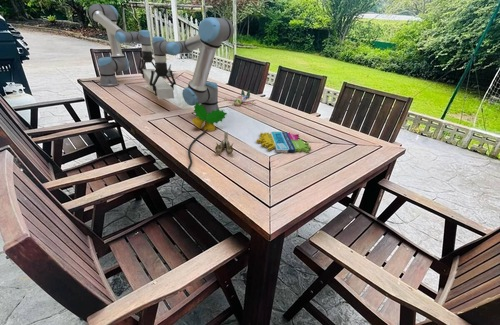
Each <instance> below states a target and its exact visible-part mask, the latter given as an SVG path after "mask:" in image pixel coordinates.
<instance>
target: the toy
mask: <svg viewBox="0 0 500 325" xmlns="http://www.w3.org/2000/svg"><path fill="white" fill-rule="evenodd" d="M240 92H241V93H240V95H238V96H237V97H235V99H233V98H230V99H228V98H227V97H226V96H225V97H224V98H223V101H224V102H233V103H232V104H233V105H235V106H242V103H243V104H247V105H252V106H255V105H256V104H257V103H256V102H254V101H253V100H252V101H251V102H250V101H248V100H246V99H248V98H250V97H251V90H250V89H249V90H248V91H247V92H246V93H245V91H244V89H242V90H241V91H240Z"/></svg>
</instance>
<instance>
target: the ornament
mask: <svg viewBox="0 0 500 325" xmlns="http://www.w3.org/2000/svg"><path fill="white" fill-rule="evenodd" d="M219 110H220V108H219V109H217V110H216V111H214V110H212V112H211V113H208V112H206V109H204V106H201V104H198V103H197V102H196V105H194V106H193V112H194V113H195V118H192V119H191V122H192V123H193V125H195V127H197V128H198V129H202V130H203V131H205V130H207V131H206V132H212V131H213V132H214V131H215V130H216V126H215V124H218V123H219V122H223V119H226V115H227V114H228V113H227V112H224V110H223V109H221V110H220V111H219ZM207 113H208V115H207ZM214 123H215V124H214Z"/></svg>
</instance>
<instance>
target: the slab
mask: <svg viewBox="0 0 500 325" xmlns="http://www.w3.org/2000/svg"><path fill="white" fill-rule="evenodd" d="M142 70H143V74H144V78H143V80H144V81H145V82H146V84H147V85H148V87H149V88H150V89H151V91H152V92H153V94H155V91H153V86H150V84H149V83H150V78H151V70H152V71H155V70H156V69H155V68H143V69H142ZM156 75H157V73H156V72H155V74H154V77H153V82H154V80H155V78H156ZM153 82H152V84H153ZM170 85H171V84H170V83H168V82H167V81H166V80H165V78H162V77H159V78H158V80H157V82H156V84H155V86H156V92H157V96H156V98H157V99H158V100H168V99H175V95H174V90H173V88H172V87H171V86H170Z"/></svg>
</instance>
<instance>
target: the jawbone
mask: <svg viewBox="0 0 500 325" xmlns="http://www.w3.org/2000/svg"><path fill="white" fill-rule="evenodd" d="M223 135H224V136H223V140H222V139H221V142H220V144H218V142H215V144H216V146H215V148H214V149H215V152H214V154H215V155H217V156H218V155H220V153H221V152H223V151H224V150H226V152H227V153H228V155H229V156H233V155H234V154H233V153H234V148H233V144H234V143H230V140H228V139H229V138H228V137H229V136H228V135H229V133H228V131H226V132H224V134H223Z"/></svg>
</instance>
